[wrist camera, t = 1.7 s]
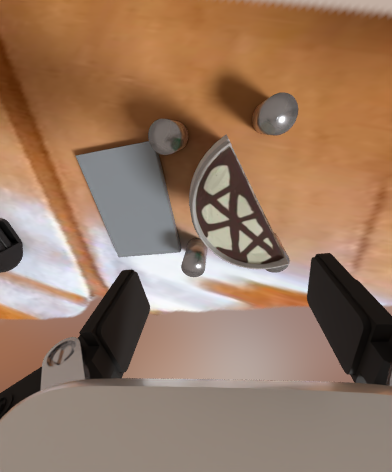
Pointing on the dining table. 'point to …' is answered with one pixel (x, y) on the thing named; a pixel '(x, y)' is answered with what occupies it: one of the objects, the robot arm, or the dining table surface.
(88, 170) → the pad
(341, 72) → the dining table surface
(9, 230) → the end cap
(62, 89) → the dining table surface
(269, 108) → the spacers
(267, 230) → the food container
